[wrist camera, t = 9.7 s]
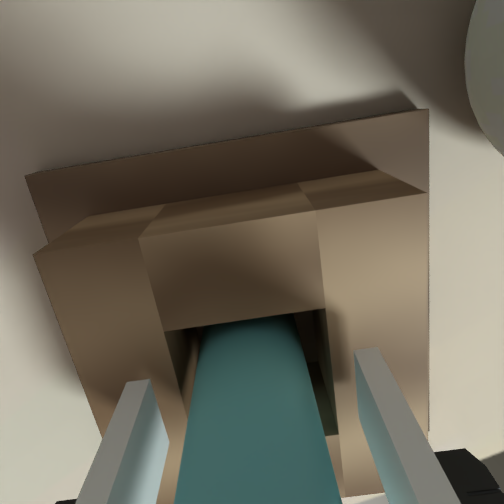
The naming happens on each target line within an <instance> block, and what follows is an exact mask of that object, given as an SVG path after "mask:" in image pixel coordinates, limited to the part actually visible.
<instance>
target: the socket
mask: <svg viewBox="0 0 504 504" xmlns="http://www.w3.org/2000/svg"><path fill="white" fill-rule="evenodd" d="M25 179H26V182H27V185H28V187H29V190H30V193H31V196H32V199H33V201H34V204H35V207H36V210H37V212H38V215H39V218H40V221H41V224H42V226H43V229H44V232H45V235H46V237H47V240H48V243H49V244H48V245H46V246H45V247H43V248H42V249H40V250H39V251H37V252H36V253H35V254H33V257H34V260H35V262H36V265H37V267H38V270H39V273H40V275H41V278H42V281H43V283H44V286H45V289H46V291H47V294H48V296H49V299H50V302H51V304H52V307H53V310H54V312H55V315H56V318H57V320H58V323H59V326H60V328H61V331H62V333H63V336H64V339H65V341H66V344H67V347H68V349H69V352H70V355H71V357H72V360H73V362H74V365H75V368H76V370H77V373H78V376H79V378H80V381H81V384H82V386H83V389H84V391H85V394H86V397H87V399H88V402H89V405H90V407H91V410H92V413H93V415H94V418H95V420H96V423H97V426H98V428H99V431H100V434H101V436H102V439H103V437H104V435H105V432H106V430H107V427H108V425H109V423H110V420H111V418H112V416H113V413H114V411H115V409H116V406H117V404H118V402H119V399H120V397H121V394H122V392H123V390H124V387H125V385H126V383H127V382H131V381H138V380H145V379H150V381H151V384H152V388H153V391H154V394H155V397H156V400H157V404H158V407H159V410H160V413H161V417H162V420H163V423H164V426H165V430H166V433H167V436H168V439H169V447H168V451H167V456H166V460H165V465H164V469H163V474H162V478H161V482H160V487H159V491H158V496H157V500H156V504H174V499H175V493H176V487H177V481H178V475H179V469H180V463H181V457H182V452H183V446H184V440H185V434H186V428H187V422H188V416H189V410H190V404H191V398H192V392H193V386H194V380H195V374H196V368H197V362H198V356H199V350H200V344H201V339H202V333H203V327H204V326H205V325H212V324H219V323H226V322H233V321H240V320H246V319H253V318H260V317H267V316H274V315H281V314H287V313H293V314H294V318H295V322H296V325H297V329H298V333H299V337H300V341H301V345H302V349H303V353H304V357H305V360H306V364H307V368H308V372H309V376H310V380H311V384H312V388H313V392H314V396H315V399H316V403H317V407H318V411H319V415H320V419H321V423H322V427H323V431H324V434H325V438H326V442H327V446H328V450H329V454H330V458H331V462H332V466H333V470H334V473H335V477H336V481H337V485H338V489H339V493H340V497H341V498H344V497H352V496H360V495H368V494H376V493H384V492H385V491H384V488H383V485H382V482H381V479H380V477H379V474H378V471H377V468H376V465H375V462H374V460H373V457H372V454H371V451H370V448H369V445H368V443H367V440H366V437H365V434H364V431H363V429H362V426H361V423H360V420H359V416H358V403H357V390H356V377H355V364H354V351H353V350H360V349H367V348H374V347H378V349H379V350H380V352H381V354H382V356H383V358H384V360H385V362H386V364H387V365H388V367H389V369H390V371H391V373H392V375H393V377H394V379H395V381H396V382H397V384H398V386H399V388H400V390H401V392H402V394H403V396H404V397H405V399H406V401H407V403H408V405H409V407H410V409H411V411H412V412H413V414H414V416H415V418H416V420H417V422H418V424H419V426H420V427H421V429H422V431H423V433H424V435H425V437H426V439H427V441H428V431H429V109H413V110H407V111H401V112H395V113H389V114H383V115H377V116H371V117H365V118H359V119H353V120H347V121H341V122H335V123H329V124H323V125H317V126H311V127H305V128H299V129H293V130H287V131H281V132H275V133H269V134H263V135H257V136H251V137H245V138H239V139H233V140H227V141H221V142H215V143H209V144H203V145H197V146H190V147H184V148H178V149H172V150H166V151H160V152H154V153H148V154H142V155H136V156H130V157H124V158H118V159H112V160H106V161H100V162H94V163H88V164H82V165H76V166H70V167H64V168H58V169H52V170H46V171H40V172H35V173H32V174H29V175H26V176H25Z"/></svg>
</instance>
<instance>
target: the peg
mask: <svg viewBox="0 0 504 504" xmlns="http://www.w3.org/2000/svg"><path fill="white" fill-rule="evenodd" d="M174 504H342V501H341V497H340V493H339V489H338V485H337V481H336V477H335V473H334V470H333V466H332V462H331V458H330V454H329V450H328V446H327V442H326V438H325V434H324V431H323V427H322V423H321V419H320V415H319V411H318V407H317V403H316V399H315V396H314V392H313V388H312V384H311V380H310V376H309V372H308V368H307V364H306V360H305V357H304V353H303V349H302V345H301V341H300V337H299V333H298V329H297V325H296V322H295V318H294V314H293V313H287V314H281V315H274V316H267V317H260V318H253V319H246V320H240V321H233V322H226V323H219V324H212V325H205V326H204V327H203V333H202V339H201V344H200V350H199V356H198V362H197V368H196V374H195V380H194V386H193V392H192V398H191V404H190V410H189V416H188V422H187V428H186V434H185V440H184V446H183V452H182V457H181V463H180V469H179V475H178V481H177V487H176V493H175V499H174Z"/></svg>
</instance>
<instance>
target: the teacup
mask: <svg viewBox="0 0 504 504" xmlns="http://www.w3.org/2000/svg"><path fill="white" fill-rule="evenodd" d="M464 60H465V79H466V87H467V92H468V96H469V101H470V105H471V107H472V110H473V112H474V115H475V117H476V119H477V122H478V124H479V126H480V128H481V130H482V131H483V133H484V134H485V135H486V137H487V138H488V140H489V141H490V142H491V144H492V145H493V146H494V147H495V148H496V149H497V151H498V152H500V153H501V154H502V155H503V156H504V0H476V3H475V6H474V9H473V12H472V16H471V19H470V24H469V28H468V32H467V39H466V49H465V59H464Z"/></svg>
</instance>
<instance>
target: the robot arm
mask: <svg viewBox="0 0 504 504" xmlns="http://www.w3.org/2000/svg"><path fill="white" fill-rule="evenodd" d="M353 351H354V364H355V377H356V390H357V403H358V416H359V420H360V423H361V426H362V429H363V431H364V434H365V437H366V440H367V443H368V445H369V448H370V451H371V454H372V457H373V460H374V462H375V465H376V468H377V471H378V474H379V477H380V479H381V482H382V485H383V488H384V491H385V494H386V496H387V499H388V502H389V504H504V493H502V492H501V490H500V487H499V485H498V484H497V482H496V481H495V479H494V478H493V476H492V475H491V473H490V472H489V470H488V469H487V467H486V466H485V465H484V464H483V463H481V462H480V461H479V460H478V459H477V458H476V457H475V456H473V455H472V454H471V453H470V452H469V451H467V450H466V449H465V448H464V449H457V450H449V451H441V452H433V450H432V448H431V446H430V444H429V442H428V441H427V439H426V437H425V435H424V433H423V431H422V429H421V427H420V426H419V424H418V422H417V420H416V418H415V416H414V414H413V412H412V411H411V409H410V407H409V405H408V403H407V401H406V399H405V397H404V396H403V394H402V392H401V390H400V388H399V386H398V384H397V382H396V381H395V379H394V377H393V375H392V373H391V371H390V369H389V367H388V365H387V364H386V362H385V360H384V358H383V356H382V354H381V352H380V350H379V349H378V347H374V348H367V349H360V350H353ZM168 447H169V439H168V436H167V433H166V430H165V426H164V423H163V420H162V417H161V413H160V410H159V407H158V404H157V400H156V397H155V394H154V391H153V388H152V384H151V381H150V379H145V380H138V381H131V382H127V383H126V385H125V387H124V390H123V392H122V394H121V397H120V399H119V402H118V404H117V406H116V409H115V411H114V413H113V416H112V418H111V420H110V423H109V425H108V427H107V430H106V432H105V435H104V437H103V439H102V442H101V444H100V446H99V449H98V451H97V453H96V456H95V458H94V460H93V463H92V465H91V467H90V470H89V472H88V475H87V477H86V479H85V482H84V484H83V486H82V489H81V491H80V493H79V496H78V498H77V499H72V500H64V501H57V502H56V503H55V504H156V500H157V496H158V491H159V487H160V482H161V478H162V474H163V469H164V465H165V460H166V456H167V451H168Z"/></svg>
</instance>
